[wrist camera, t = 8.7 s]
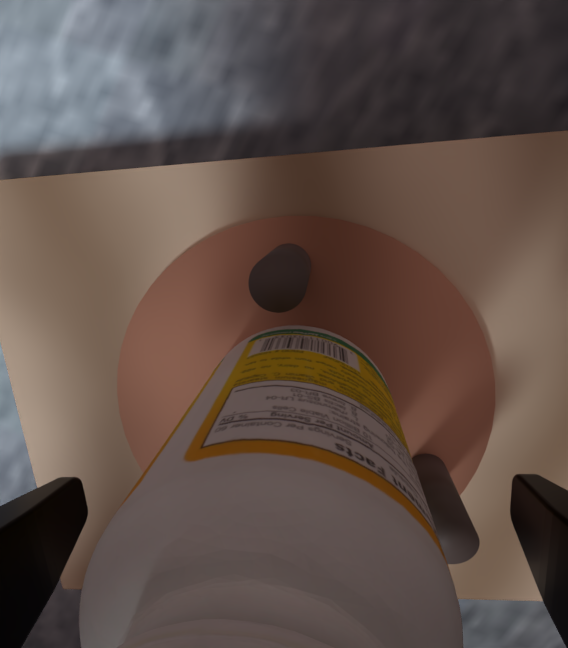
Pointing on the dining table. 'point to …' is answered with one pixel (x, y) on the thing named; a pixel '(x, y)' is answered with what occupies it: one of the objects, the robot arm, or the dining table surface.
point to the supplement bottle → (277, 517)
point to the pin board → (303, 314)
